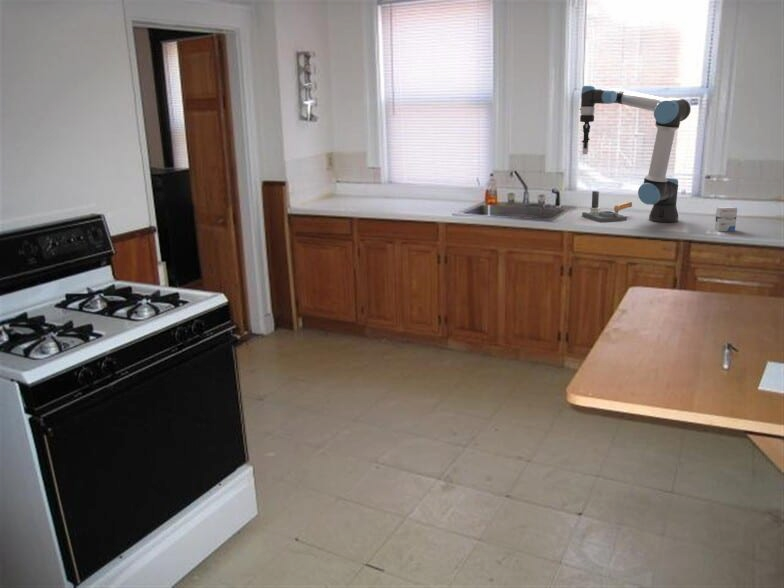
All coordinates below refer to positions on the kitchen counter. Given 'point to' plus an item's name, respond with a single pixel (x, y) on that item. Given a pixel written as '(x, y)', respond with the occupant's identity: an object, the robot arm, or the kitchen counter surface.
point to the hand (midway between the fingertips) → (585, 153)
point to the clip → (622, 206)
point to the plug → (595, 202)
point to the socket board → (604, 216)
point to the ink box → (725, 218)
